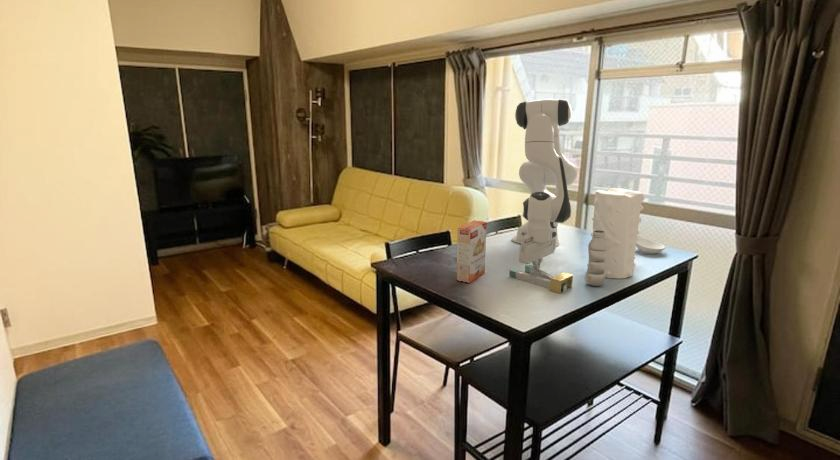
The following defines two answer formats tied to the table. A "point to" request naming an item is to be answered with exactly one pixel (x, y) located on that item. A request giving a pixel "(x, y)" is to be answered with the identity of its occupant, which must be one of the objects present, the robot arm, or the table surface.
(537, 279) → the green-tipped wooden stick
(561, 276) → the lock collar
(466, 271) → the cracker box
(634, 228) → the white bumpy sculpture
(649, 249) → the spoon rest
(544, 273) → the tong arm
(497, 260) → the table surface
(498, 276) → the table surface
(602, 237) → the plastic bottle
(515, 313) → the table surface
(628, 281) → the table surface
